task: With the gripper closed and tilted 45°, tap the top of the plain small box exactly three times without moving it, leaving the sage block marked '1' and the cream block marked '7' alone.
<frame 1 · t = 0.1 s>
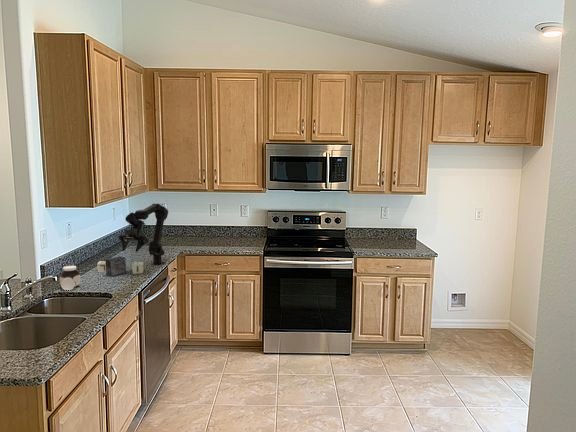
hand: (129, 251, 279), 15 cm above the countertop, tool tilted 35°, fingers open, 9 cm apart
spread jar: (70, 288, 252), on the countertop
small box: (116, 274, 282), on the countertop
cream block seven: (103, 271, 290), on the countertop
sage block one: (138, 272, 287), on the countertop
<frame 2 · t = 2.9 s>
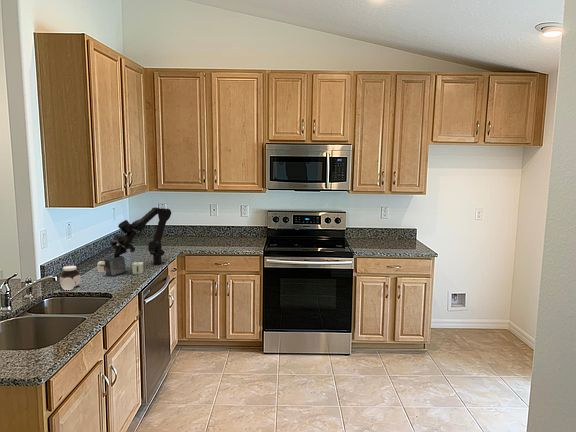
hand: (114, 257, 280), 11 cm above the countertop, tool tilted 50°, fingers closed, pressing on small box
small box: (116, 274, 282), on the countertop, touching gripper
everything else where it was.
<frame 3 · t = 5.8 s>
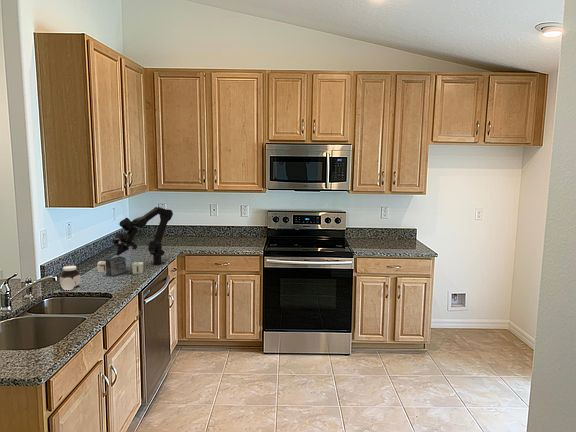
hand: (117, 255, 282), 12 cm above the countertop, tool tilted 45°, fingers closed
small box: (116, 274, 282), on the countertop
everything else where it was.
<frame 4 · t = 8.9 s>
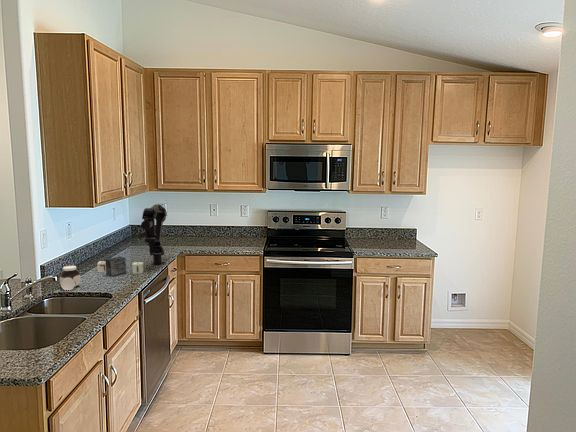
hand: (151, 250, 296), 12 cm above the countertop, tool pointing down, fingers closed
nothing on the countertop moved.
at the end: small box moved 0.3 cm from its start; small box tilted 0°; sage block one moved 0.1 cm from its start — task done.
